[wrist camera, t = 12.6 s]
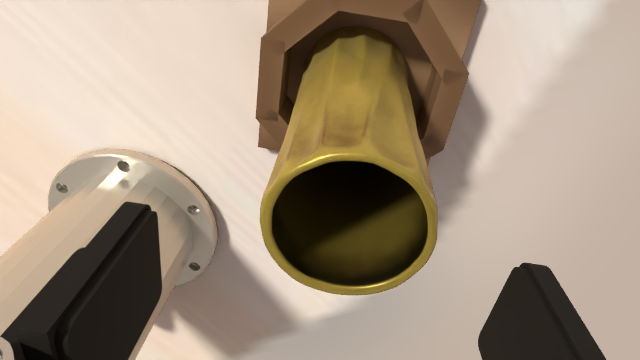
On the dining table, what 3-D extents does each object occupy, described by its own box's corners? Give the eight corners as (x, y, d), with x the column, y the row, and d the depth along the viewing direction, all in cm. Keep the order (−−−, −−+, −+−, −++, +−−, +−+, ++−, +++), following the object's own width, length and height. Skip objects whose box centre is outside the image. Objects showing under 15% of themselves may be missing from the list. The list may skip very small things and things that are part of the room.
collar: (422, 169, 28) (431, 200, 24) (260, 141, 28) (247, 169, 24) (479, -9, 22) (500, 2, 19) (274, -44, 22) (259, -39, 19)
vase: (383, 5, 22) (411, 98, 10) (423, 105, 24) (483, 276, 12) (284, 55, 24) (202, 187, 12) (330, 143, 26) (304, 326, 14)
